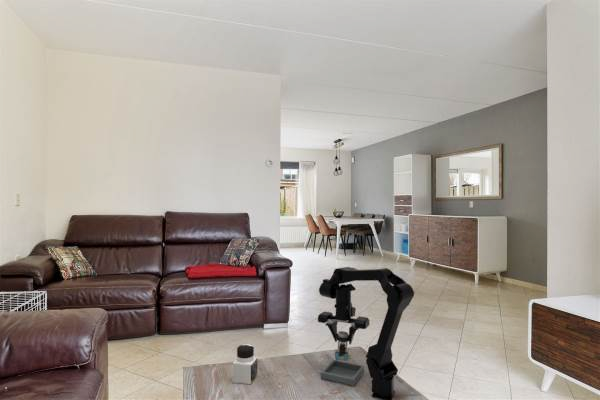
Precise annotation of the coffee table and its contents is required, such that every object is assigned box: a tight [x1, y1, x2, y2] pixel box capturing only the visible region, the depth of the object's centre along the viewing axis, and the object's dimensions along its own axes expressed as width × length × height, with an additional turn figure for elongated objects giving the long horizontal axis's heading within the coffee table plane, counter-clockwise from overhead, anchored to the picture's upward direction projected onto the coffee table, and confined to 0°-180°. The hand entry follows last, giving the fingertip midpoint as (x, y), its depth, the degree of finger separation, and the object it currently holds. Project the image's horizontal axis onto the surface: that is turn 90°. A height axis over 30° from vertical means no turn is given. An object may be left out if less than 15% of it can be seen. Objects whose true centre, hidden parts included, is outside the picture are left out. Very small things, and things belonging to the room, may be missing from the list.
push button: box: [334, 330, 353, 362], centre depth 138 cm, size 7×5×10 cm
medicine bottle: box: [232, 343, 258, 385], centre depth 135 cm, size 7×7×12 cm
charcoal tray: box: [320, 359, 365, 388], centre depth 138 cm, size 13×13×2 cm
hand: (343, 342), depth 138 cm, fingers closed on push button, 5 cm apart
